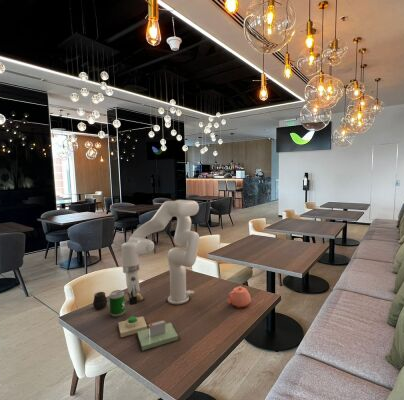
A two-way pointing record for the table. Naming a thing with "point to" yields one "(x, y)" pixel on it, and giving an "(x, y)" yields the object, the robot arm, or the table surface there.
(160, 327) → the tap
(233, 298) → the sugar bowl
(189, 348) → the table surface
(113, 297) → the soda can
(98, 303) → the mate gourd
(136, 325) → the button box
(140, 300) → the chocolate bunny
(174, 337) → the panel
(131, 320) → the button
